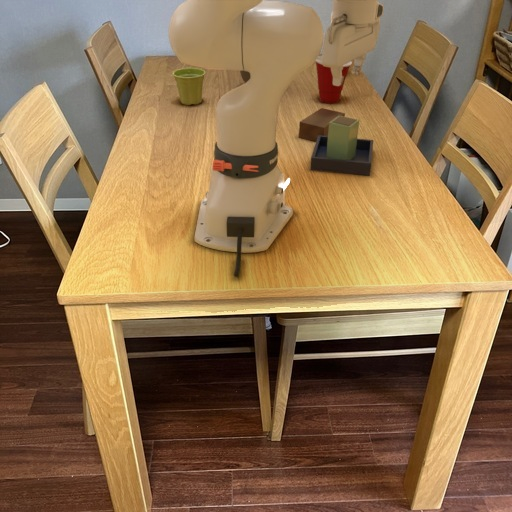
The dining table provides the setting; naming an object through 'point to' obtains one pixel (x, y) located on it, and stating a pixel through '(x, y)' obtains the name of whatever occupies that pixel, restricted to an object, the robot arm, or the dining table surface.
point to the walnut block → (317, 124)
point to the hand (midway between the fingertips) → (347, 79)
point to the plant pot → (189, 84)
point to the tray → (353, 166)
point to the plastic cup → (329, 82)
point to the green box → (342, 138)
